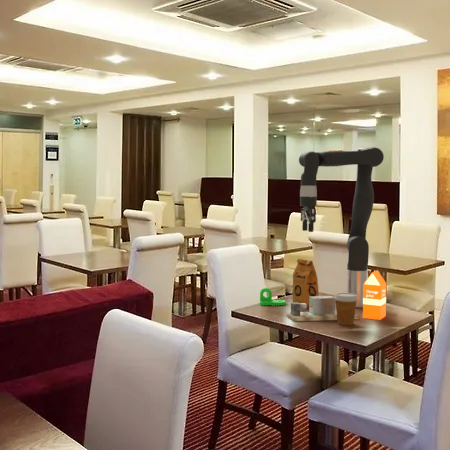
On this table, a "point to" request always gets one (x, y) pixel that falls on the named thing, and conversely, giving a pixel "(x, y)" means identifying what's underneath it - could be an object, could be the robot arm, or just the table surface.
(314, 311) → the block
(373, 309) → the orange juice
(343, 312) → the disposable coffee cup
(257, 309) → the table surface
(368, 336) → the table surface
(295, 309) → the coupling stand
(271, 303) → the mechanical part
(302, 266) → the coffee package
